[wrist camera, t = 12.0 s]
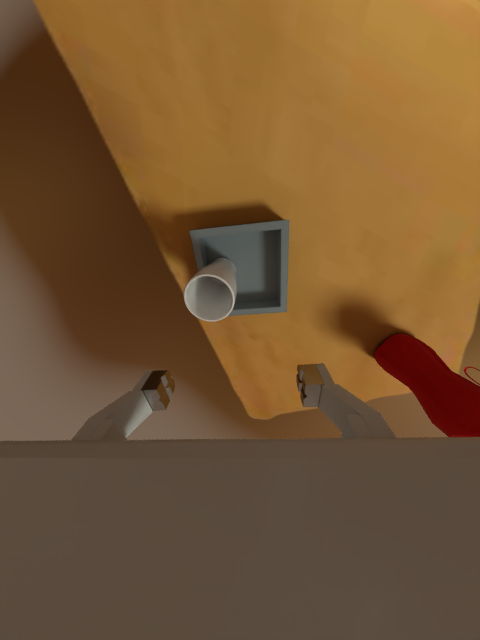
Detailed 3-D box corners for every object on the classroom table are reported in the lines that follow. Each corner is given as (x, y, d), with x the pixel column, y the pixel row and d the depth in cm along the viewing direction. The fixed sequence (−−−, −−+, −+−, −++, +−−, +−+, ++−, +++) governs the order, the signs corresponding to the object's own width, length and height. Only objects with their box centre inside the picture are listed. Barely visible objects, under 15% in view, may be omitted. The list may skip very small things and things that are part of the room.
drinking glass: (201, 277, 37) (175, 308, 24) (215, 246, 34) (194, 262, 21) (230, 292, 39) (220, 330, 25) (246, 264, 36) (245, 290, 22)
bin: (196, 229, 34) (189, 230, 29) (283, 219, 32) (289, 219, 28) (211, 306, 41) (207, 317, 37) (282, 301, 40) (286, 311, 36)
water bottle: (430, 335, 43) (622, 456, 21) (394, 367, 48) (518, 491, 26) (399, 321, 41) (570, 436, 19) (365, 355, 46) (471, 477, 24)
